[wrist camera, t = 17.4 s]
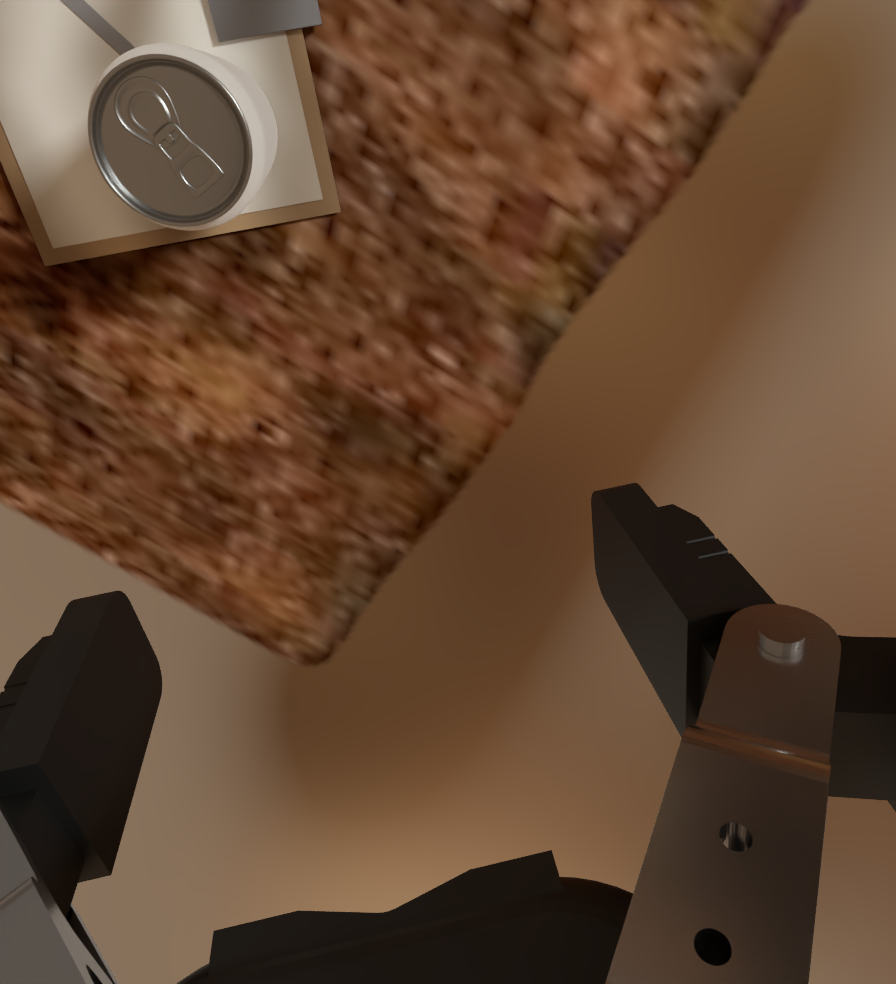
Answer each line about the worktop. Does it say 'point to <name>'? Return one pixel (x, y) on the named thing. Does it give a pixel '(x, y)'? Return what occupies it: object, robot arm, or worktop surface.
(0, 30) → the clipboard
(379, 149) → the worktop surface
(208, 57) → the can
